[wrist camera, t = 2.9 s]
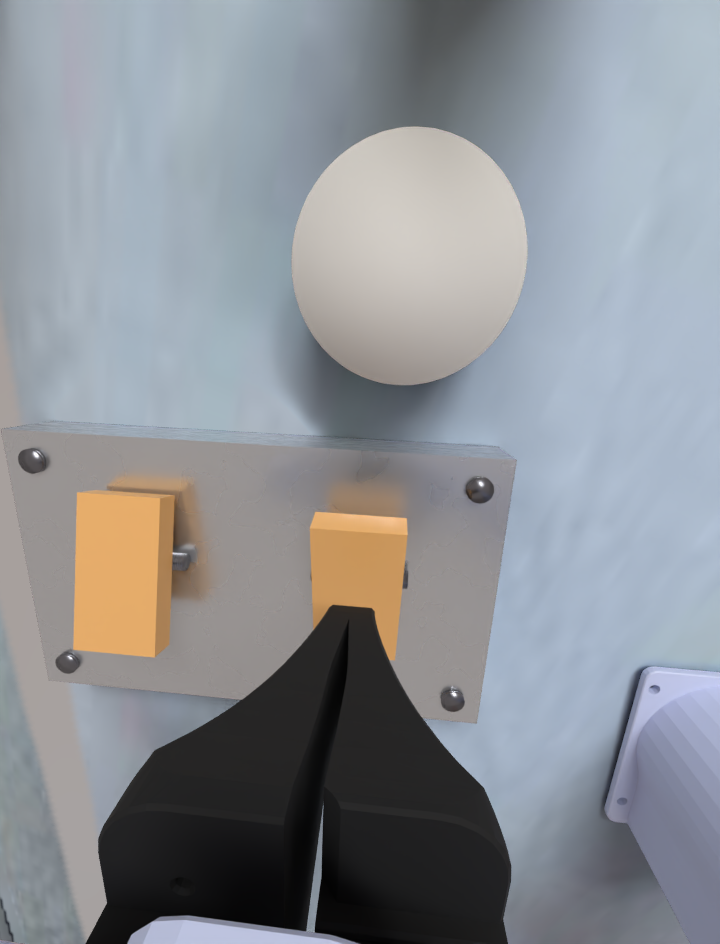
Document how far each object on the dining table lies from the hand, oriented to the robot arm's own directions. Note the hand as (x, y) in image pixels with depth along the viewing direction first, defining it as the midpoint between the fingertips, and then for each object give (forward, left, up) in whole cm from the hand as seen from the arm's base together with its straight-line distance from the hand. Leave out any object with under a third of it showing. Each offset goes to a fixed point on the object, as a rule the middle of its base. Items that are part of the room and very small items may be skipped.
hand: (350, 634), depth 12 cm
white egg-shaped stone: (+11, -1, -7) cm, 13 cm away
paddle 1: (0, +9, -2) cm, 9 cm away
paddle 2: (0, 0, -2) cm, 2 cm away
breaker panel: (-1, +5, -6) cm, 8 cm away
